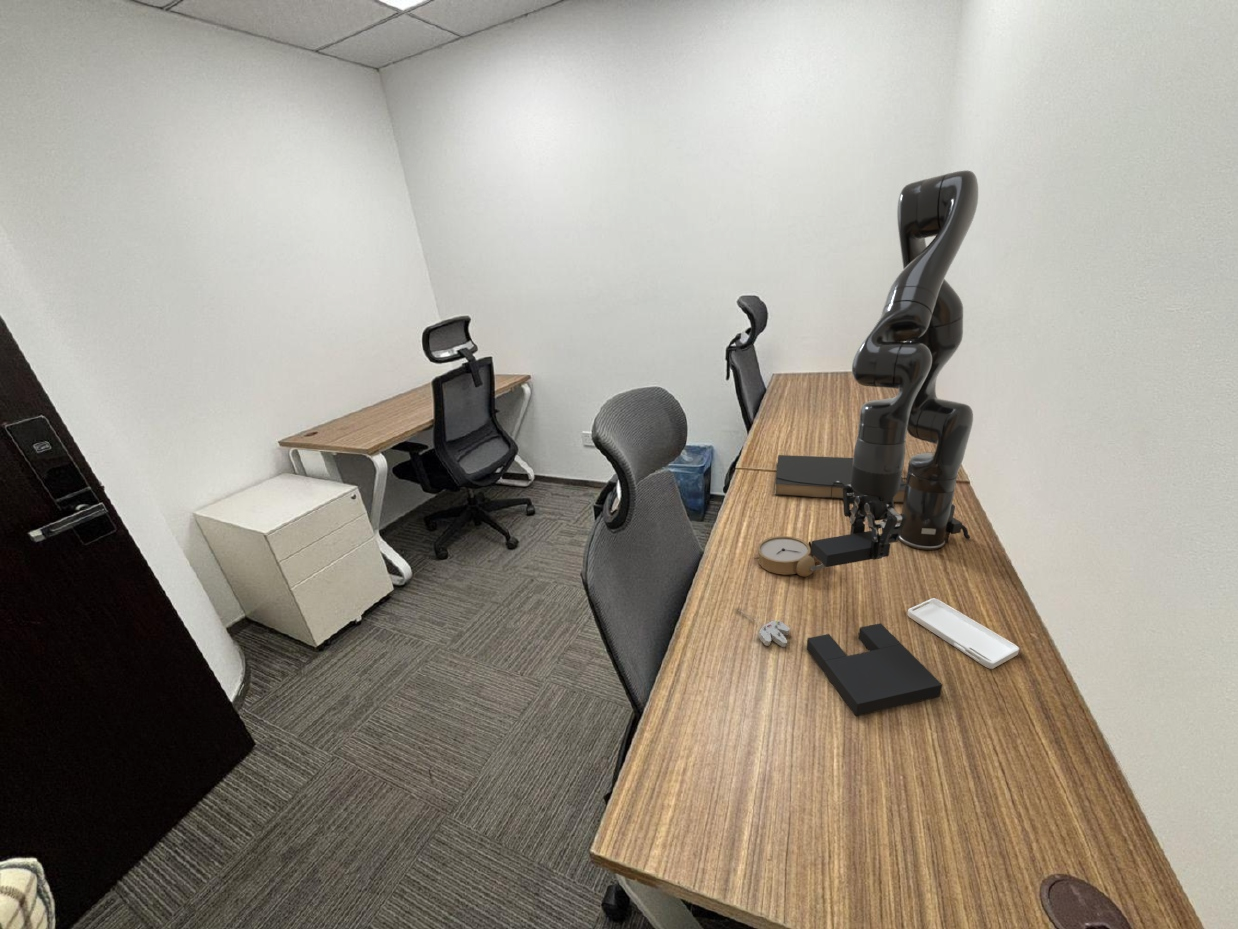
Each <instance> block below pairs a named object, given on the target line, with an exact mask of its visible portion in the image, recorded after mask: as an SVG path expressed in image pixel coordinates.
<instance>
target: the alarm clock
mask: <svg viewBox="0 0 1238 929" xmlns="http://www.w3.org/2000/svg"><path fill="white" fill-rule="evenodd" d="M811 546H812V541H808V543H807V542H806V541H805V540H802V539H801V538H798V537H794V536H791V535H790V536H789V535H778V536H777V535H776V536H771V537H767V538H766V539H763V540H762V541H761V542H760V543H758V546H757V548H756V549H757V555H756V556H754V557H753V560H757V561H758V564H759V566H760V567H761V568H762V569H764V570H766V571H767V572H770V573H772V574H777V575H785V576H786V575H795V574H797V575H798V576H800V577H809V576H810V575H812V574H813V573H814V571H818V570H822V569H825V568H826V567H825V566H824V565H823V564H822V563H821V564H818V565H816V563H817V562H819V560H818V559H817V558H816V557H815V556H814V555H813V554H812V553H811Z"/></svg>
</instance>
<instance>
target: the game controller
mask: <svg viewBox="0 0 1238 929" xmlns="http://www.w3.org/2000/svg"><path fill="white" fill-rule="evenodd" d="M739 611H740V612H742V613H743V614H744V616H745V617H746V618H748V619H749V620H751V618H750V617H748V616H747V615H746V613H745V612H744V611H742V610H741V609H739ZM752 620H755V621H757V622H758V623H759V624H761V622H760V621H759V620H758V619H756V618H754V617H753V618H752ZM789 633H790V627H789V626H788V625H786V624H785V623H784V622H783V621H781V620H772V621H768V622H767V623H766V624H764V625H762V626H761V627H760V629H759V633H758V638H759V640H760V641H761V642H762V643H763V644H764V646H767V647H769V646H770V645H771V642H772V641H773V642H774V643H776V645H779V646H780V648H781V647H782V648H786V647H787V643H788V640H787V638H786V636H788V635H789Z"/></svg>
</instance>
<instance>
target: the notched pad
mask: <svg viewBox="0 0 1238 929" xmlns="http://www.w3.org/2000/svg"><path fill="white" fill-rule="evenodd" d="M857 638H858V640H859V642H861V643H862V645H863V646H864V647H865V648H866V649H867V650H868V651H864V652H859V653H855V654H849V655H847V653H846V652H845V651H844V649H843V648H841V646H840V645H839V644H838V643H837V641H836V640H835V639H834V637H833V636H832V635H831V634H830V633H826V634H822V635H817V636H812V637H808V638H807V640H806V651H807V652H808V653H809V655H810V656H811V658H812V659H813V660H814V662H815V663H816V664H817V666H818V667H819V668H820V670H821V671H822V672H823V673H824V675H825V677H826V678H827V679H828V681H829V682H830V683H831V685H832V686H833V687H834V689H835V690H836V691H837V693H838V694H839V695H840V697H841V698H842V699H843V702H845V703H846V705H847V706H848V708H849V710H851V711H852V713H853V714H854V716H855V717H858V716H863V715H867V714H871V713H876V712H879V711H880V712H881V711H884V710H888V709H892V708H897V707H901V706H905V705H910V704H914V703H919V702H923V701H927V700H931V699H935V698H939V697H940V696H941V693H942V689H943V684H942V683H941V681H940V680H939V679H938V678H937V677H935V676H934V674H932V673H931V672H930V671H929V670H928V669H927V667H926V666H924V664H922V663H921V661H920V660H919V659H917V658H916V657H915V656H914V655H913V654H912V652H910V651H909V649H908V648H906V647H905V645H903V644H902V643H901V642H900V641H899V639H898V638H896V636H894V635H893V634H892V632H890V631H889V630H888V628H886V627H885V626H884V625H883V623H881V622H880V623H874V624H869V625H864V626H860V627H859V631H858V637H857Z"/></svg>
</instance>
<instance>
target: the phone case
mask: <svg viewBox="0 0 1238 929" xmlns="http://www.w3.org/2000/svg"><path fill="white" fill-rule="evenodd" d="M907 617H909V619H911V620H912V621H915V623H917V624H919V625H921V626H922V627H923V628H925V629H926V630H928V631H930V632H931V633H933V634H934V635H936V636H937V637H939V638H941V639H942V640H943V641H945V642H946V643H948V644H949V645H951V646H953V647H954V648H955V649H957V650H958V651H960V652H962V653H963V654H965V655H966V656H968V657H970V658H971V659H972V660H974V661H975V662H977V663H978V664H980V665H982V666H983V667H985V668H987V669H989V670H993V669H995V668H996V667H999V666H1000V665H1002V664H1004V663H1006V662H1007V661H1010V660H1011V659H1013V658H1015V657H1016V656H1018V655H1019V652H1020V646H1017V644H1015V643H1013V642H1011V641H1010V640H1008V639H1007V638H1005V637H1004V636H1001V635H1000V634H998V633H996V632H995V631H993V630H991V629H990V628H988V627H986V626H984V625H983V624H981V623H979V622H977V621H976V620H974V619H972V618H971V617H969V616H968V615H965V614H964V613H962V612H961V611H959V610H957V609H955V608H954V607H952V606H950V605H948V604H947V603H945V602H944V601H941V600H940V599H938V598H935V597H931V598H929V599H927V600H925V601H923V602H920V603H919V604H916V605H914V606H912V607H909V608H908V610H907Z"/></svg>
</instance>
